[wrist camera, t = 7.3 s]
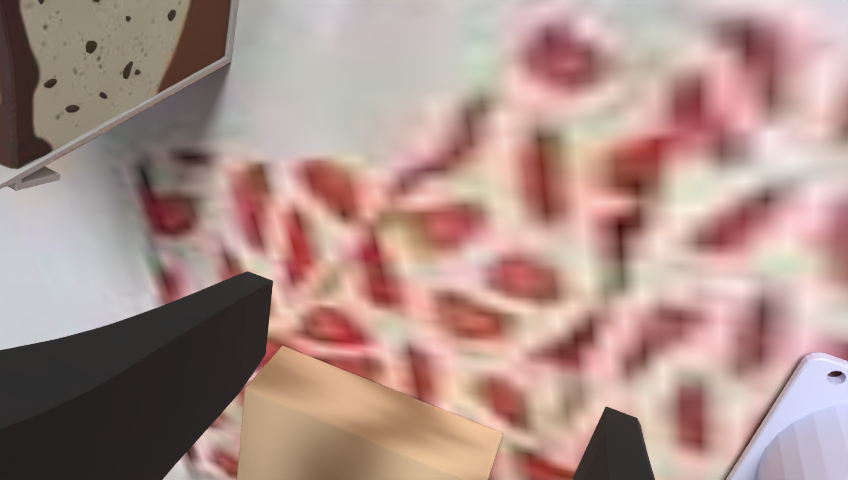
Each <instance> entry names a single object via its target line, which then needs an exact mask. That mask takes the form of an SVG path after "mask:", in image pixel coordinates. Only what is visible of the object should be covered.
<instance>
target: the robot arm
mask: <svg viewBox="0 0 848 480" xmlns="http://www.w3.org/2000/svg"><path fill="white" fill-rule="evenodd" d="M272 286H273V281H272V280H269V279H267V278H264V277H261V276H259V275H256V274H253V273H251V272H248V271H247V272H245V273H242V274H239V275H237V276H234V277H232V278H229V279H227V280H225V281H222V282H220V283H217V284H215V285H213V286H210V287H208V288H205V289H203V290H201V291H198V292H196V293H193V294H191V295H188V296H186V297H183V298H181V299H179V300H176V301H174V302H171V303H169V304H166V305H164V306H161V307H158V308H155V309H153V310H150V311H147V312H144V313H141V314H139V315H136V316H133V317H130V318H127V319H124V320H122V321H119V322H116V323H113V324H110V325H106V326H103V327H100V328H96V329H93V330H89V331H86V332H82V333H78V334H74V335H71V336H67V337H63V338H59V339H54V340H50V341H45V342H40V343H35V344H30V345H25V346H20V347H15V348H10V349H4V350H0V480H163V478H164V477H165V476H166V475H167V474H168V472H169V471H170V470H171V469H172V468H173V466H174V465H175V464H176V463H177V462H178V461H179V460H180V459H181V458H182V456H183V455H184V454H185V453H186V452H187V451H188V450H189V449H190V448H191V446H192V445H193V444H194V443H195V442H196V441H197V440H198V439H199V438H200V436H201V435H202V434H203V433H204V432H205V431H206V430H207V429H208V428H209V426H210V425H211V424H212V423H213V422H214V421H215V420H216V419H217V418H218V416H219V415H220V414H221V413H222V412H223V411H224V410H225V408H226V407H227V406H228V405H229V404H230V403H231V402H232V401H233V399H234V398H235V397H236V396H237V395H238V394H239V392H240V391H241V390H242V388H243V387H244V385H245V384H246V383H247V381H248V380H249V378H250V377H251V375H252V374H253V372H254V371H255V369H256V368H257V366H258V365H259V363H260V362H261V360H262V359H263V357H264V356H265V354H266V344H267V334H268V325H269V315H270V305H271V295H272ZM832 371H841V372H843V374H841V375H840V376H837V377H830V376H828V374H829V373H830V372H832ZM573 480H655V478H654V474H653V471H652V468H651V464H650V461H649V457H648V454H647V450H646V446H645V442H644V438H643V434H642V430H641V425H640V423H639V421H638V419H637V418H635V417H633V416H630V415H627V414H625V413H622V412H619V411H617V410H614V409H611V408H609V407H605V409H604V412H603V414H602V416H601V418H600V420H599V422H598V425H597V427H596V429H595V431H594V433H593V435H592V438H591V440H590V442H589V444H588V446H587V448H586V451H585V453H584V455H583V457H582V459H581V461H580V463H579V466H578V468H577V470H576V472H575V474H574V476H573ZM726 480H848V361H846V360H843V359H840V358H837V357H834V356H831V355H828V354H825V353H820V352H817V353H811V354H809V355H806V356H805V357H804V358H803V359H802V360H801V362H800V364H799V365H798V367H797V368H796V370H795V371H794V373H793V375H792V376H791V378H790V379H789V381H788V383H787V384H786V386H785V387H784V389H783V390H782V392H781V394H780V395H779V397H778V398H777V400H776V401H775V403H774V405H773V406H772V408H771V409H770V411H769V413H768V414H767V416H766V417H765V419H764V420H763V422H762V424H761V425H760V427H759V428H758V430H757V431H756V433H755V435H754V436H753V438H752V439H751V441H750V443H749V444H748V446H747V447H746V449H745V450H744V452H743V454H742V455H741V457H740V458H739V460H738V461H737V463H736V465H735V466H734V468H733V469H732V471H731V473H730V474H729V476H728V477H727V479H726Z"/></svg>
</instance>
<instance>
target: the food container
mask: <svg viewBox="0 0 848 480" xmlns="http://www.w3.org/2000/svg"><path fill="white" fill-rule="evenodd" d="M237 8H238V0H0V189H1V188H4V187H6V186H8V187H10V188H12V189H14V190H16V191H17V190H21V189H25V188H29V187H33V186H37V185H41V184H45V183H48V182H52V181H56V180H59V179H60V174H58V173H56V172H55V171H53V170H51V169H49V168H47V167H45V166H46V165H48V164H49V163H51V162H53V161H55V160H56V159H58V158H60V157H62V156H64V155H65V154H67V153H69V152H71V151H73V150H74V149H76V148H78V147H80V146H82V145H83V144H85V143H87V142H89V141H90V140H92V139H94V138H96V137H98V136H99V135H101V134H103V133H105V132H107V131H108V130H110V129H112V128H114V127H116V126H117V125H119V124H121V123H123V122H124V121H126V120H128V119H130V118H132V117H133V116H135V115H137V114H139V113H141V112H142V111H144V110H146V109H148V108H150V107H151V106H153V105H155V104H157V103H158V102H160V101H162V100H164V99H166V98H167V97H169V96H171V95H173V94H175V93H176V92H178V91H180V90H182V89H184V88H185V87H187V86H189V85H191V84H192V83H194V82H196V81H198V80H200V79H201V78H203V77H205V76H207V75H209V74H210V73H212V72H214V71H216V70H218V69H219V68H221V67H223V66H225V65H226V64H228V63H230V62H231V59H232V51H233V42H234V34H235V25H236V17H237Z"/></svg>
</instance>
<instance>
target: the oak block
mask: <svg viewBox="0 0 848 480" xmlns="http://www.w3.org/2000/svg"><path fill="white" fill-rule="evenodd" d="M502 435H503V434H502V433H500V432H497V431H495V430H492V429H490V428H487V427H485V426H482V425H480V424H477V423H475V422H472V421H470V420H467V419H465V418H462V417H460V416H457V415H455V414H452V413H450V412H447V411H445V410H442V409H440V408H437V407H435V406H432V405H430V404H427V403H425V402H422V401H420V400H417V399H415V398H412V397H410V396H407V395H405V394H402V393H400V392H397V391H395V390H392V389H390V388H387V387H385V386H382V385H380V384H377V383H375V382H372V381H370V380H367V379H365V378H362V377H360V376H357V375H355V374H352V373H350V372H347V371H345V370H342V369H340V368H337V367H335V366H332V365H330V364H327V363H325V362H322V361H320V360H317V359H315V358H312V357H310V356H307V355H305V354H302V353H300V352H297V351H295V350H292V349H290V348H287V347H285V346H282V347H281V348H280V349H279V350H278V351H277V353H276V354H275V355H274V356H273V357H272V358H271V359H270V361H269V362H268V363H267V364H266V365H265V366H264V368H263V369H262V370H261V371H260V372H259V373H258V374H257V376H256V377H255V378H254V379H253V380H252V381H251V382H250V384H249V385H248V386H247V387H246V388H245V394H244V406H243V417H242V429H241V440H240V452H239V463H238V475H237V480H488V478H489V475H490V472H491V469H492V466H493V463H494V460H495V457H496V454H497V450H498V447H499V444H500V441H501V438H502Z"/></svg>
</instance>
